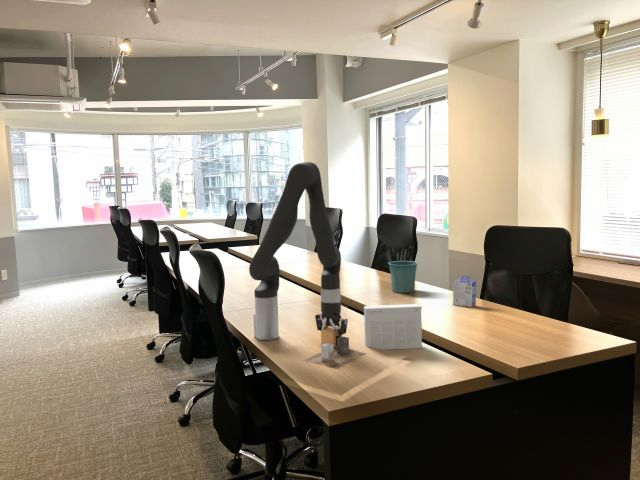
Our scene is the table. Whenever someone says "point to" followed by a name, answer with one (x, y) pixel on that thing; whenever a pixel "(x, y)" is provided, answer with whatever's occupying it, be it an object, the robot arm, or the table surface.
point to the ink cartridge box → (464, 292)
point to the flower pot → (403, 276)
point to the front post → (327, 352)
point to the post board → (338, 355)
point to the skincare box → (393, 326)
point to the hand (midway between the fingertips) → (331, 343)
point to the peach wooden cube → (328, 336)
